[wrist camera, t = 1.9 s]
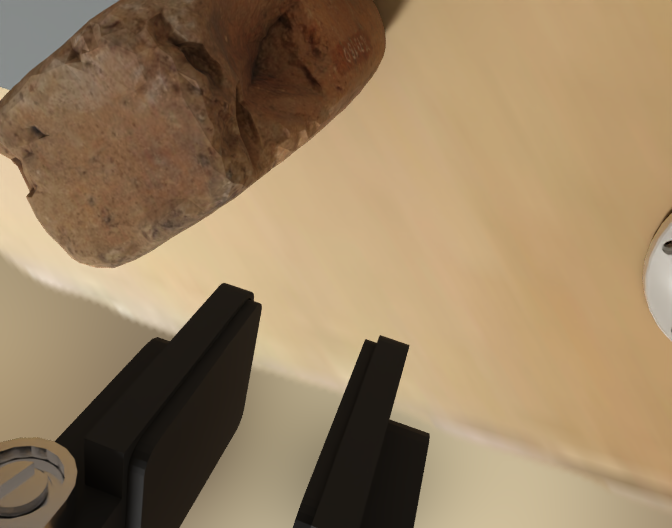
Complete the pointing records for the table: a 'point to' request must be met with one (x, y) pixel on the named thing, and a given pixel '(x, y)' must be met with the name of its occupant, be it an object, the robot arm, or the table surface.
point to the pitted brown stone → (177, 112)
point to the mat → (38, 31)
